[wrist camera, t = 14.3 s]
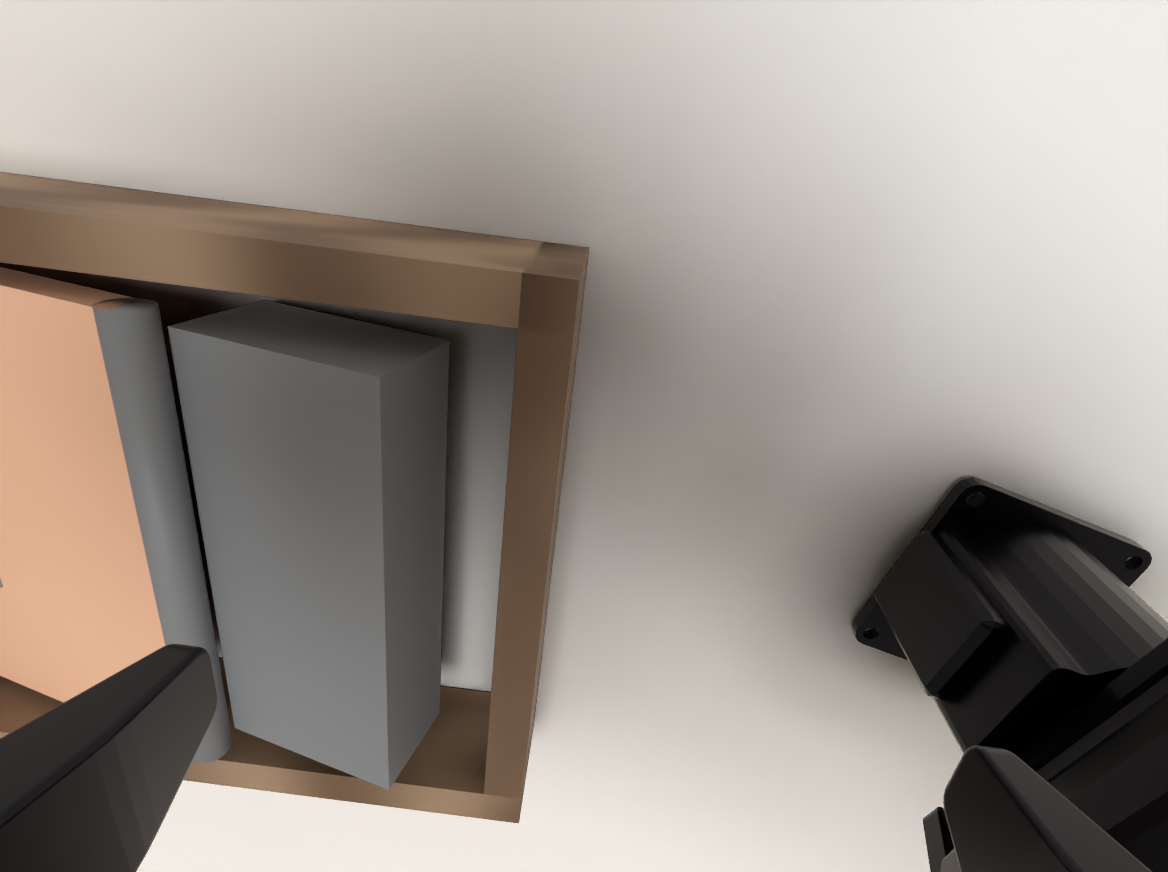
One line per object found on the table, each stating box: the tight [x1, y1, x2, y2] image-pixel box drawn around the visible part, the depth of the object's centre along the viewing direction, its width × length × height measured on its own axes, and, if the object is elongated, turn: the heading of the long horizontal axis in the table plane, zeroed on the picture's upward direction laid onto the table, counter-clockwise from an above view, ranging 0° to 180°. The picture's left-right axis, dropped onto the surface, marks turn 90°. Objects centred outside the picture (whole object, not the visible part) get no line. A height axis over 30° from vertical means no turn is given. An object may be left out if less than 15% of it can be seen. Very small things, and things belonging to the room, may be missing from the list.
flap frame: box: [0, 172, 589, 823], centre depth 19 cm, size 25×18×4 cm
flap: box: [0, 267, 449, 790], centre depth 19 cm, size 20×14×4 cm
